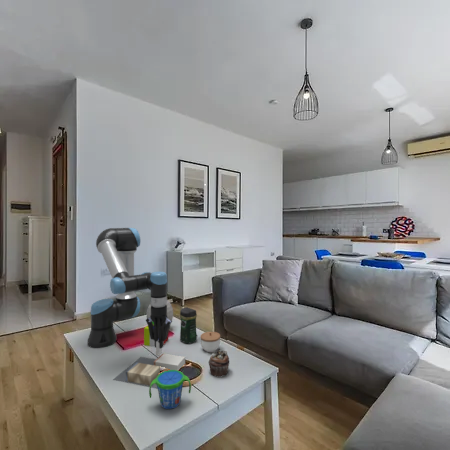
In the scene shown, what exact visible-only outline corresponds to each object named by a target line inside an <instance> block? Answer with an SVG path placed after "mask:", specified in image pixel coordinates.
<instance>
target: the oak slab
mask: <svg viewBox="0 0 450 450" xmlns="http://www.w3.org/2000/svg"><path fill="white" fill-rule="evenodd" d="M158 373H160V366H154V365H149V364H143V363H136V364H134V365H133V366H132V367H131V368H130V369H129V370H127V371H126V381H129V382H134V383H139V384H144V385H149V386H150V384H151V382H152V381H153V380H154V379H156V378H157V376H158Z"/></svg>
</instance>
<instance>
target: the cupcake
mask: <svg viewBox="0 0 450 450" xmlns="http://www.w3.org/2000/svg"><path fill="white" fill-rule="evenodd" d="M208 366H209V373H210V374H211V376H213V377H217V376H218V378H219V377H221V376H222V377H224V376H226V375H227V374H228V372H229V367H230V358H229V356H228V351H227V350H221V349H217V350H216V351H215V352H212V353H211V356H210V358H209V360H208Z"/></svg>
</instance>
